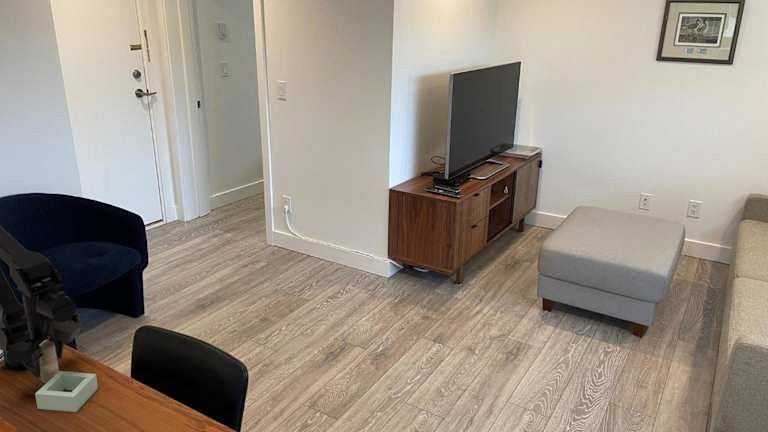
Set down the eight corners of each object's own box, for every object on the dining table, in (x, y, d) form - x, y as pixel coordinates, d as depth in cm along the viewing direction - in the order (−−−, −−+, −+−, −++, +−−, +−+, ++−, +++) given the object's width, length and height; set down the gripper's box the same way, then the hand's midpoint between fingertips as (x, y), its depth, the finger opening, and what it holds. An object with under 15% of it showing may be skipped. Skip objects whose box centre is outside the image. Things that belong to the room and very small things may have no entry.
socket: (37, 408, 131) (35, 393, 130) (61, 385, 139) (59, 370, 138) (76, 412, 130) (73, 397, 129) (97, 388, 139) (96, 374, 138)
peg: (37, 381, 140) (31, 349, 137) (47, 372, 144) (42, 340, 141) (53, 383, 140) (47, 350, 137) (63, 373, 144) (58, 342, 141)
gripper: (46, 332, 127) (56, 393, 132) (94, 294, 144) (101, 349, 149) (-2, 328, 128) (10, 388, 132) (51, 291, 145) (60, 346, 150)
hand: (48, 367), depth 141 cm, fingers open, 8 cm apart
